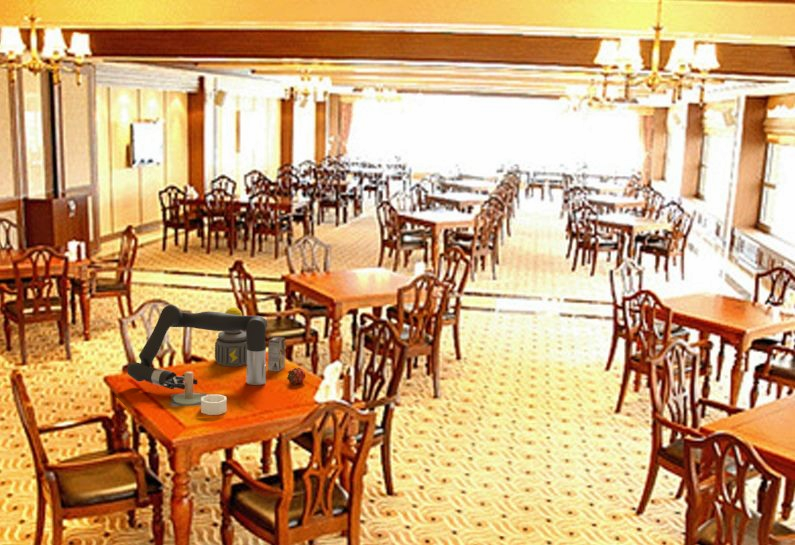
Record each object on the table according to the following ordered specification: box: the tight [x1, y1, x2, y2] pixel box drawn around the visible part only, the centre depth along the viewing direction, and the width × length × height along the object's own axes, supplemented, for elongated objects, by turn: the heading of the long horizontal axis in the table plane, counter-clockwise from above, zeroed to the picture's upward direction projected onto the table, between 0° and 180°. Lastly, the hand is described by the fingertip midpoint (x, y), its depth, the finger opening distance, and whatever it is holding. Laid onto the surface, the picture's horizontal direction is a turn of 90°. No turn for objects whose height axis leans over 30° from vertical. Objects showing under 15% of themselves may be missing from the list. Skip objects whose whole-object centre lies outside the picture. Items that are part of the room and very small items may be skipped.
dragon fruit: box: [286, 367, 307, 385], centre depth 429 cm, size 8×8×12 cm
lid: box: [173, 371, 204, 405], centre depth 396 cm, size 14×14×13 cm
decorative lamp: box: [214, 306, 247, 368], centre depth 456 cm, size 19×19×30 cm
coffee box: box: [267, 336, 286, 372], centre depth 449 cm, size 9×6×16 cm
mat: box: [170, 393, 208, 407], centre depth 397 cm, size 16×16×1 cm
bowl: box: [200, 394, 228, 416], centre depth 385 cm, size 11×11×6 cm
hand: (190, 384), depth 395 cm, fingers open, 8 cm apart
